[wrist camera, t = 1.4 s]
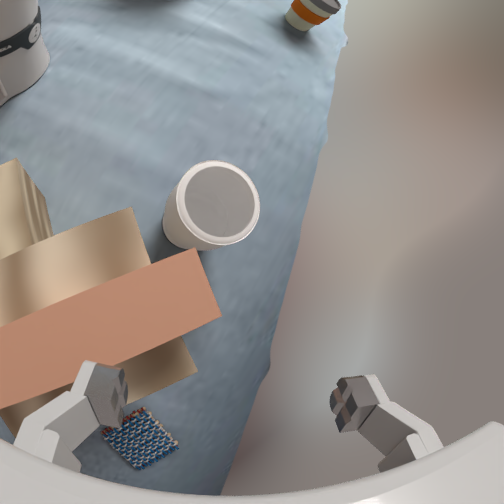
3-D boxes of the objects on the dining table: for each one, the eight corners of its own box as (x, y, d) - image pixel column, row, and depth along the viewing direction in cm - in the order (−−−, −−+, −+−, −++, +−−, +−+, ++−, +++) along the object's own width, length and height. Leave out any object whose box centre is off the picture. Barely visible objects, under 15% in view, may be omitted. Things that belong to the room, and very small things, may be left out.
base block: (0, 284, 29) (-47, 286, 15) (-14, 224, 29) (-60, 199, 15) (60, 257, 35) (32, 246, 21) (44, 197, 34) (16, 157, 20)
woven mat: (144, 402, 39) (145, 407, 37) (179, 442, 41) (182, 447, 39) (97, 429, 34) (97, 435, 33) (136, 467, 36) (137, 473, 34)
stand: (62, 357, 33) (18, 442, 11) (32, 284, 32) (-54, 288, 10) (149, 320, 41) (198, 371, 18) (120, 247, 40) (131, 206, 17)
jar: (152, 251, 42) (171, 238, 29) (160, 188, 44) (183, 150, 30) (214, 258, 47) (258, 250, 34) (219, 199, 49) (263, 170, 35)
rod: (-72, 416, 6) (-90, 434, 2) (-94, 372, 5) (-115, 383, 2) (200, 308, 19) (222, 315, 15) (178, 253, 18) (195, 247, 15)
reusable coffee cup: (309, 40, 66) (340, 14, 53) (275, 18, 61) (304, -12, 48) (315, 26, 70) (343, 2, 57) (285, 6, 65) (311, -21, 52)
